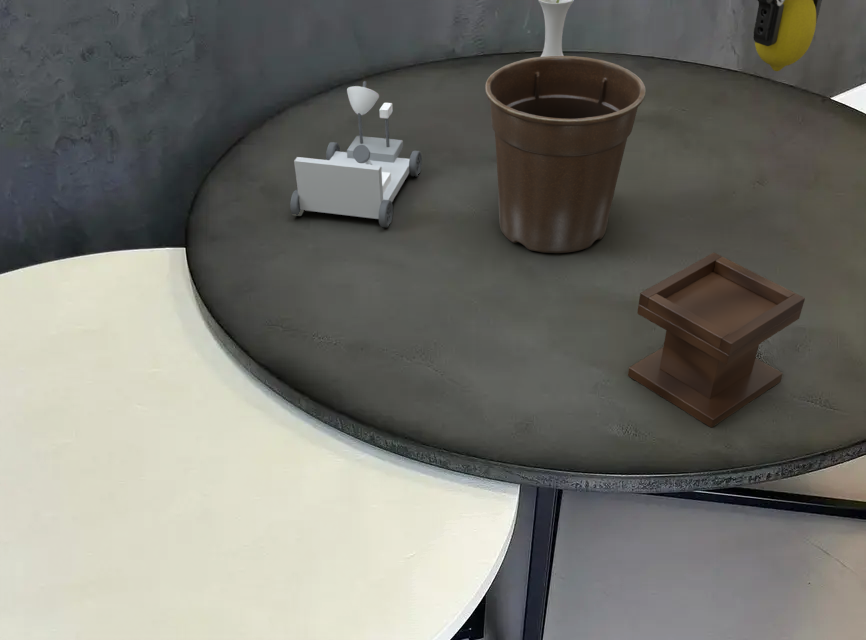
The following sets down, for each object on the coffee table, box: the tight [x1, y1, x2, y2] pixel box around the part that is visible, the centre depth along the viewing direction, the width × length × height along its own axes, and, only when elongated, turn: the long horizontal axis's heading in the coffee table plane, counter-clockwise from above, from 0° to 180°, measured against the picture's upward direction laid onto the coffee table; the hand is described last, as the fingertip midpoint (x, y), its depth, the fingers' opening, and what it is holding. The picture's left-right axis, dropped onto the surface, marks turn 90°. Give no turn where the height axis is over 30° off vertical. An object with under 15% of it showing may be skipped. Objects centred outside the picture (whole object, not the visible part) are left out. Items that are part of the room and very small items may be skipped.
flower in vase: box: [537, 0, 575, 57], centre depth 126 cm, size 13×11×25 cm
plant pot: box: [484, 55, 646, 254], centre depth 107 cm, size 16×16×16 cm
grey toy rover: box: [289, 80, 423, 228], centre depth 117 cm, size 18×10×12 cm
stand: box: [627, 252, 806, 428], centre depth 89 cm, size 10×10×9 cm
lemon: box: [754, 0, 817, 72], centre depth 96 cm, size 6×6×8 cm
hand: (784, 34), depth 97 cm, fingers closed on lemon, 5 cm apart
